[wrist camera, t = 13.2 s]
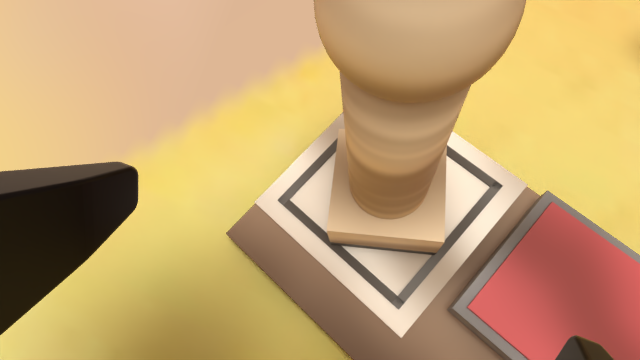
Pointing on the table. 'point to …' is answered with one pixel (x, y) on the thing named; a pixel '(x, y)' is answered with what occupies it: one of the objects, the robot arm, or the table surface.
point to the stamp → (403, 109)
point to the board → (449, 268)
